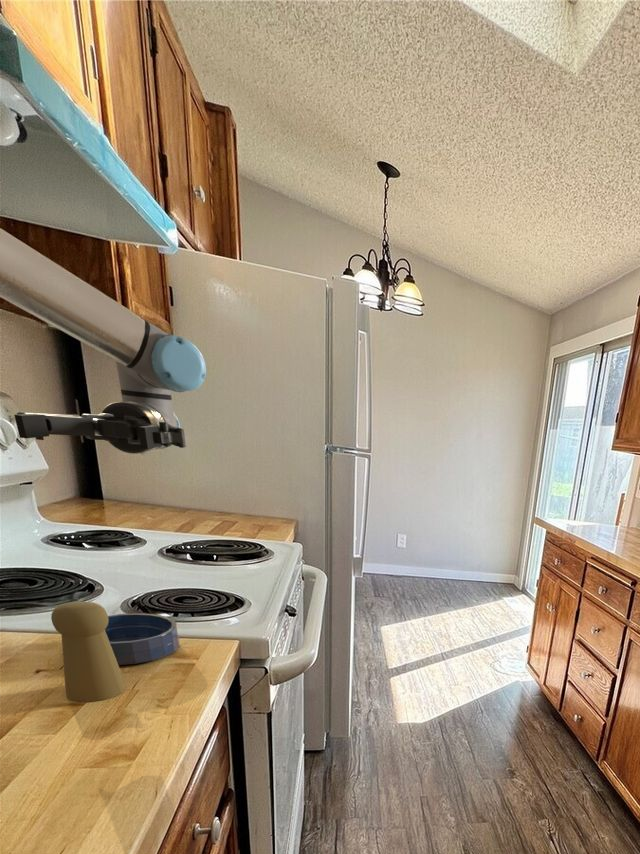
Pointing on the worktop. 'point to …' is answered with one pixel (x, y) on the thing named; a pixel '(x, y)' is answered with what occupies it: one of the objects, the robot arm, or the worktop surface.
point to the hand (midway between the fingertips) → (83, 432)
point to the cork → (87, 652)
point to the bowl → (141, 637)
